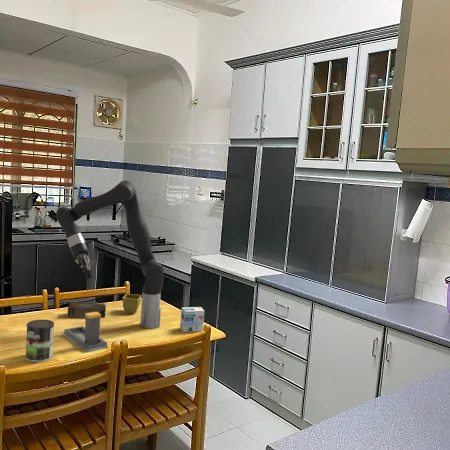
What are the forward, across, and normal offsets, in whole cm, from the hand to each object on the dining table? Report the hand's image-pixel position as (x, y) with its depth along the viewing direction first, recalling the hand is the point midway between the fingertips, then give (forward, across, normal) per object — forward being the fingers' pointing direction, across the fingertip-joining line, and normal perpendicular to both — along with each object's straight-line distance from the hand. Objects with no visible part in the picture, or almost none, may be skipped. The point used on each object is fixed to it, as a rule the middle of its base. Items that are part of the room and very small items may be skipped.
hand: (90, 278), depth 215 cm
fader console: (+26, +5, -10) cm, 29 cm away
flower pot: (+17, -41, -7) cm, 45 cm away
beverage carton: (+11, -25, -23) cm, 36 cm away
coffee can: (+27, +28, -18) cm, 43 cm away
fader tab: (+29, +9, -5) cm, 31 cm away
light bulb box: (+40, -32, +25) cm, 57 cm away
